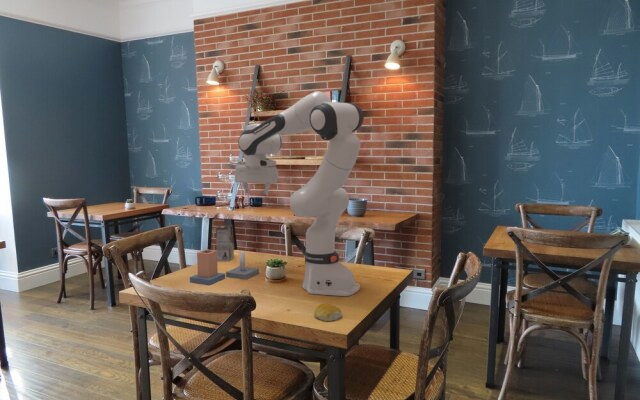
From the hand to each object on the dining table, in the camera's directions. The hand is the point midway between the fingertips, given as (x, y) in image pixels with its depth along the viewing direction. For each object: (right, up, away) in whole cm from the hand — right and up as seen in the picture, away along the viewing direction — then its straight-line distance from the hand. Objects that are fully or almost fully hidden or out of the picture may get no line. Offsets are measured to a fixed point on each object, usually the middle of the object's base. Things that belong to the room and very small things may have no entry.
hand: (256, 193), depth 193 cm
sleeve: (-19, -34, -10) cm, 40 cm away
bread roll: (+30, -41, -49) cm, 71 cm away
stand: (-5, -35, -3) cm, 35 cm away
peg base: (-19, -36, -10) cm, 41 cm away
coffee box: (-18, -32, +24) cm, 44 cm away
